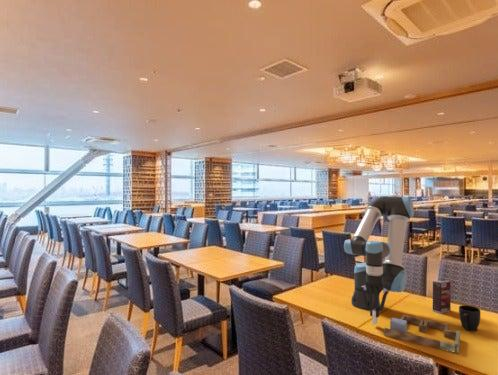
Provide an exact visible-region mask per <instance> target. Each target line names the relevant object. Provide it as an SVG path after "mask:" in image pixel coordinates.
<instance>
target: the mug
mask: <svg viewBox="0 0 498 375" xmlns="http://www.w3.org/2000/svg"><path fill="white" fill-rule="evenodd" d="M458 314H459V320H460V323H461V327H462V329H463V330H465V331H469V332H477V331H478V328H479V326H480V321H481V310H480V309H479V308H478V307H476V306H473V305H467V304H466V305H465V304H462V305H459V306H458Z"/></svg>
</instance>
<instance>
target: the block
mask: <svg viewBox="0 0 498 375" xmlns="http://www.w3.org/2000/svg"><path fill="white" fill-rule="evenodd" d="M392 318H393V319H392V320H391V319H390V323H389V326H390V328H389V329H392V330H396V331H401V332H405V333H408V323H407V321H406V320H401V318H396V317H392Z"/></svg>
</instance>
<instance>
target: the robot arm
mask: <svg viewBox="0 0 498 375" xmlns="http://www.w3.org/2000/svg"><path fill="white" fill-rule="evenodd" d="M414 216H415V207H414V203H413V200H412V198H411V197H409V196H408V197H407V196H380V197H377V198H376V199H373V200H372V201H370V202H369V203H368V205H367V206H366V208H365V210H364V215H363V217H362V218H361V221H360V223H359V225H358V227H357V228H356V231H355V232H354V235H353V237H352V238H349V239H345V240H344V243H343V250H344V252H345V253H346V254H349V255H353V256H354V255H355V256H363V257H365V262H359V263H356V264H355V265H354V271H353V273H354V274H353V275H354V276H353V277H354V278H353V279H354V281H353V282H354V285H353V286H354V291H353V294H352V296H351V300H350V301H351V305H352V306H354V307H356V308H358V309H363V310H369V314H370V317H372V325H375V326H376V325H377V324H378V318H379V317H380V311H382V310H383V309H384V308H385V303H386V299H387V296H388V294H389V292H391V293H402V292H403V291H404V290H405V288H406V287H407V282H408V272H407V271H406V270H405V267H404V265H403V257H404V247H405V237H406V229H407V224H408V223H409V222H410V218H414ZM381 217H386V218H387V219H388V221H389V223H388V224H389V225H388V233H387V240H386V241H379V240H369V239H370V236H371V235H372V232H373V230H374V228H375V225H376V223H378V221H379V220H380V219H381ZM380 293H382V294H383V295H382V297H381V301H380V295H381V294H380Z"/></svg>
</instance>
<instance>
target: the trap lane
mask: <svg viewBox="0 0 498 375" xmlns="http://www.w3.org/2000/svg"><path fill="white" fill-rule="evenodd" d="M393 318H394V317H391V318H390V321H391V320H392V319H393ZM400 319H401V320H406V321H407V324H412V325H415V326H416V325H417V326H418V332H421V333H425V334H427V332H428V329H429V328H430V329H434V330H439V331H444V332H443V333H444V335H443V337H444V338H447V339H451V340H455V341H454V343H451V342H448V341H443V340H439V339H434V338H430V337H426V336H422V335H418V334H417V335H416V334H413V333H408V332H407V333H405V332H401V331H396V330H392V329H390V328H387V327H384V328H383V329H384V330H383V332H384V336H385V337H390V338H394V339H397V340H401V341H404V342H408V343H409V342H410V343H412V344H413V343H414V344H417V345H422V346H426V347H430V348H433V349H437V348H438V349H437V350H441V349H443V350H442V351H445V350H448V351H447V352H449V351H454V352H457V353H460V343H461V342H460V341H461V331H460V330H456V331H455V330H450V324H449V323H445V322H439V321H435V320H432V319H431V320H430V319H424V318H421V317H415V316H410V315H405V314H402V316H401V317H400ZM457 353H456V354H457Z"/></svg>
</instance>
